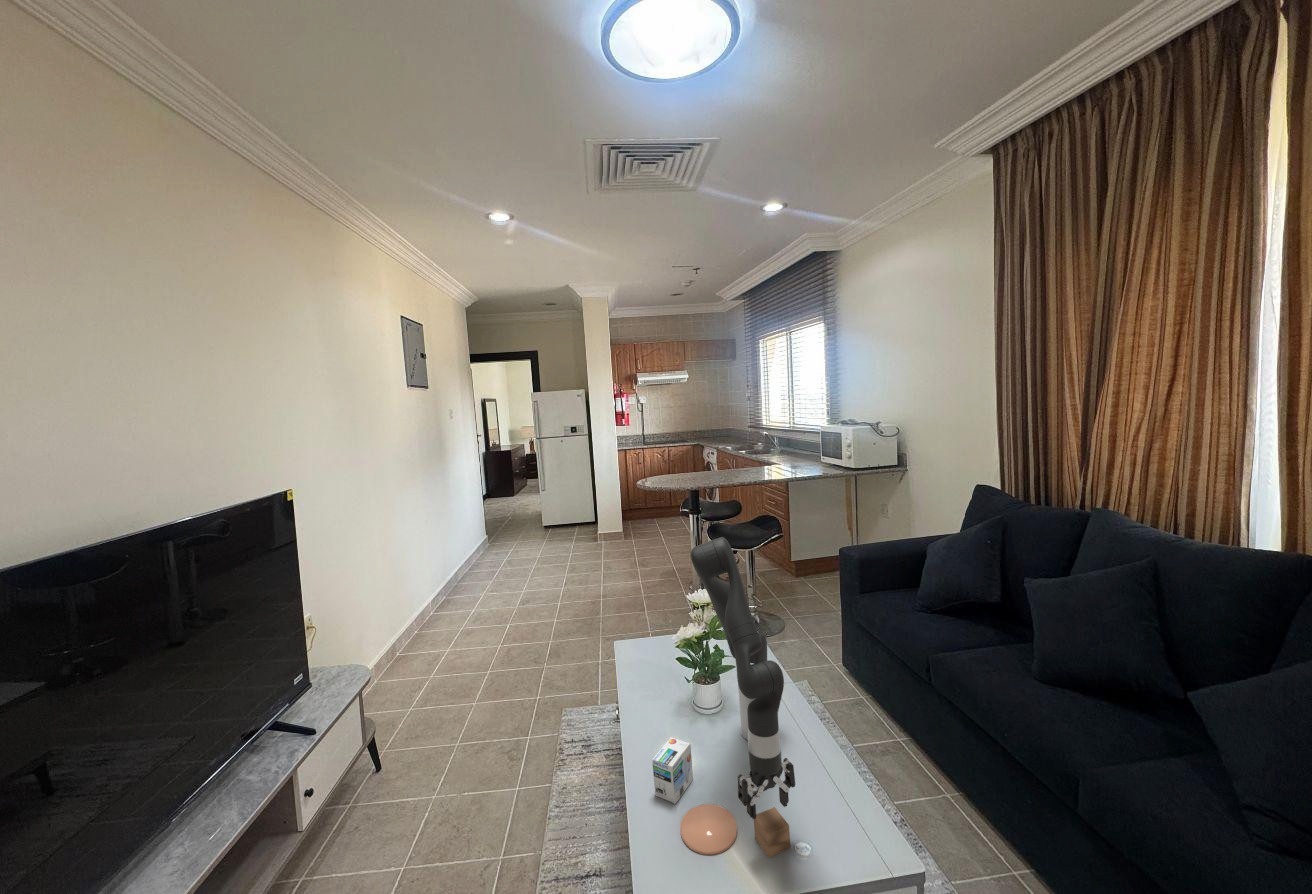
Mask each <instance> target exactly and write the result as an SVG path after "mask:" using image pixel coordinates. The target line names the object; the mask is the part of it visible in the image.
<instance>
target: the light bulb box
mask: <svg viewBox="0 0 1312 894" xmlns="http://www.w3.org/2000/svg"><path fill="white" fill-rule="evenodd" d="M651 761H652V771H653V782H654V783H653V784H654V793H655V794H654V795H655V796H656V797H658V798H661V799H662V800H664V801H665V800H666V801H668V802H670V803H672V804H676V803H677V802H678V801H679V800H680V799H681V797H682V796H683V794H684V793H685V791H686V790H687V788H688V787H689V786H690V784H691V783H692V781H693V780H694V773H693V760H692V745H691V742H690V743H689V742H686V741H684V740H681V739H677V738H674V737H672V736H670V737H669V739H668V740H667V741H666V742H665V743H664V745H663V746H662V747H661V748H660V750H659V751H658V752H657V753H656V755H654V757H653V758H652V759H651Z"/></svg>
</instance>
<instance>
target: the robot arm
mask: <svg viewBox="0 0 1312 894" xmlns="http://www.w3.org/2000/svg"><path fill="white" fill-rule="evenodd" d="M690 559H691V563H692V566H693V568H694V570H695V572H696V575H697V576H698V577H699V580H700V581H701V583H702V584H703V586H704V588H705V590H706V592H707V594H708V598H709V599H710V602H711V604H712V607H713V609H714V613H715V615H716V617H717V618H718V620H719V622H720V625H721V627H722V629H723V632H724V634H725V638H726V641H727V645H728V649H729V651H730V654H731V656H732V658H733V659H735V666H736V679H737V686H738V701H739V715H740V729H741V731H740V732H741V735H742V737H743V738H744V739H745V740H746V741H747V745H748V747H747V748H748V763H749V768H750V769H749V773H748V774H746V775H743V774H739V775H738V776H737V798H738V799H739V801H740V803H741V805H743V806H744V807H746V813H747V815H749V817H750V818H751V819H752V820H754V819H756V814H757V807H756V804H755V803H756V802H757V800H758V798H760V797H761V796H762V794H763V792H766V791H768V790H769V789H774V788H775V787H776V785H777V786H778V793H779V794H778V795H779V796H778V797H779V802H780V804H781V805H782V806H783V808H787V807H788V804H789V800H790V799H789V791H790V788H795V787H796V777H795V769H794V768H795V767H794V764H793V763H792V762H791V761H790V760H789V759H788V758H787V757H785V758H784V759H783V760H782V745H781V744H782V743H781V735H780V728H779V711H780V710H779V709H780V706H781V700H782V696H783V692H784V688H785V679H784V673H783V669H782V668H781V666H780V665H779V664H778V663H777V662H776V661H774V660H771V659H770V660H768V639H767V636H766V635H765V634H764V633H763V632H759V631H758V628H757V626H756V622H755V621H754V620H755V619H754V618H753V616H752V615H753V614H752V612H751V609H750V606H749V602H748V599H747V596H746V595H747V594H746V591H745V587H744V582H743V580H742V576H741V573H740V569H739V566H738V563H737V562H738V561H737V560H736V557H735V554H734V550H733V549H732V546H731V544H730V543H729V541H728V539H726V537H724V536H721V537H717V538H714V539H712V540H709V541H706V542H704V543H701V544H699V545H696V546H695V547H692V549H691V551H690ZM724 574H727V575H728V579H729V581H728V582H729V583H728V582H727V581H724V580H722V579H720V578H718V576H720V575H724ZM782 761H783V762H782ZM783 771H784V772H783ZM783 773H784V778H785V779H784V780H783V779H781V777H782V776H781V775H782V774H783ZM756 787H757V789H756Z"/></svg>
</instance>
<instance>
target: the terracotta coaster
mask: <svg viewBox="0 0 1312 894" xmlns="http://www.w3.org/2000/svg"><path fill="white" fill-rule="evenodd" d="M679 828H680V836H681V838H682V841H683V843H684V844H685V845H686V847H688V848H689V849H690V850H691V851H693V852H695V853H698V854H701V855H705V856H715V855H717V854H718V855H719V854H721V853H723V852H725V851H727V850H729V849H730V848H731V847H732V846H733V844H734V843H735V842H736V840H737V835H738V826H737V821H736V819H735V817H734V815H733V814H732V813H731V812H730V811H729V810H728V809H726V808H724V807H722V806H720V805H717V804H713V803H712V804H709V803H707V804H706V803H705V804H701V805H697V806H694V807H692V808H691V809H689V810H688V811H687V812H686V813H685V814H684V815H683V817H682V819H681V821H680V827H679Z"/></svg>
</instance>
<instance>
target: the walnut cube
mask: <svg viewBox="0 0 1312 894" xmlns="http://www.w3.org/2000/svg"><path fill="white" fill-rule="evenodd" d="M753 829H754V839H755V840H756V842H757V843H758V845H759V846H760V848H761V849H762V850H763V852H764V853H765V855H766V856H767V857H768V859H770V858H772V857H775V856H777V855H779V854H780V853H783V852H785V851H787V850H789V849H791V837H790V824H789V823H788V822H787V821H786V820H785V818H784V817H783V816H782V814H781V813H780V812H779V811H778V808H776V807H775V806H774V807H771V808H769V809H766V810H763V811H761V812H759V813H756V819H753Z"/></svg>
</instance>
